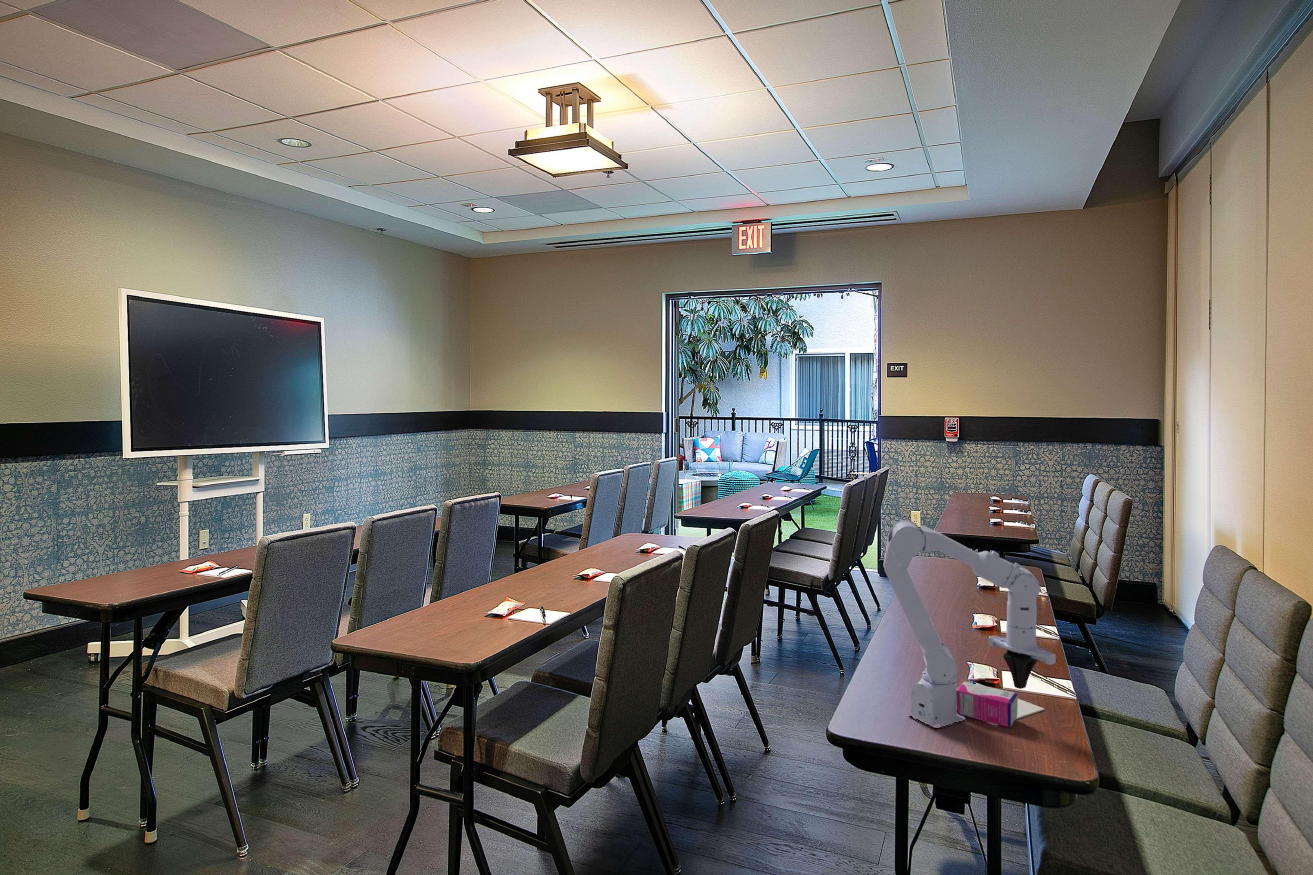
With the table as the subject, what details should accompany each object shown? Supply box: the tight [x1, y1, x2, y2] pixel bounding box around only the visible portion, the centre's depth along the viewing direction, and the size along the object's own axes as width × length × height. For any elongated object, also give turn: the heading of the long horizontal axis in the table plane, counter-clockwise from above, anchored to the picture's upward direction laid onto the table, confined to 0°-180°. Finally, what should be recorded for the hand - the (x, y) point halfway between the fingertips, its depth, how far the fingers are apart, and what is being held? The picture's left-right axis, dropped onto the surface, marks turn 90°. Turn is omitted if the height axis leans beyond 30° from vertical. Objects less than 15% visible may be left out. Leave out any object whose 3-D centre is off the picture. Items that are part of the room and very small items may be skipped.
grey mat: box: [975, 682, 1045, 727], centre depth 173 cm, size 17×18×1 cm
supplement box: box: [956, 681, 1019, 728], centre depth 165 cm, size 6×6×12 cm
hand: (1020, 687), depth 161 cm, fingers closed
